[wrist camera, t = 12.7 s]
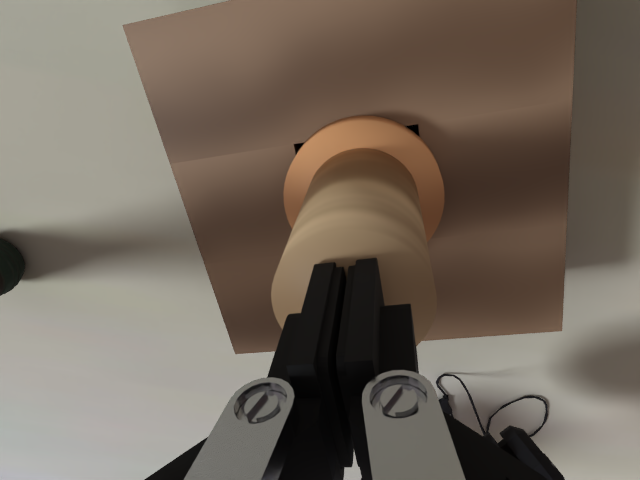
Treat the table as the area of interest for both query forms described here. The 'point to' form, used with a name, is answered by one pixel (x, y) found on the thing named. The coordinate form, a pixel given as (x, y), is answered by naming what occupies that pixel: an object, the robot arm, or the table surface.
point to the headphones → (513, 439)
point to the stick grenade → (9, 267)
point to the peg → (362, 213)
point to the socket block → (382, 101)
